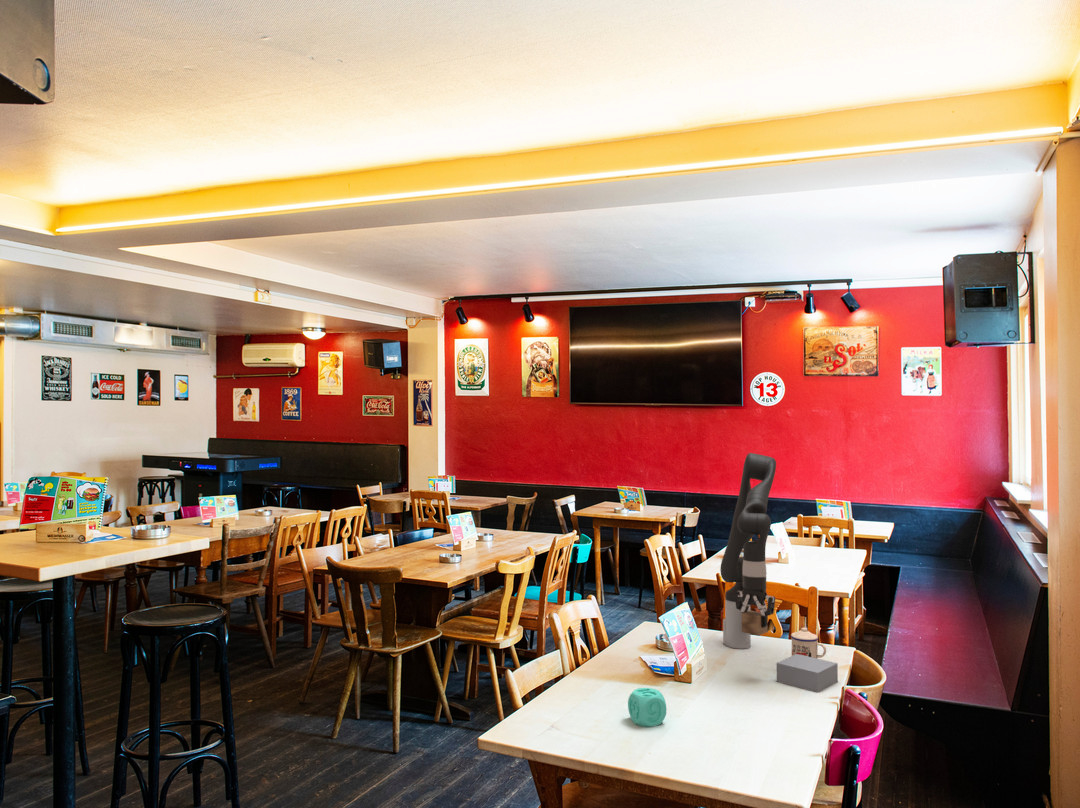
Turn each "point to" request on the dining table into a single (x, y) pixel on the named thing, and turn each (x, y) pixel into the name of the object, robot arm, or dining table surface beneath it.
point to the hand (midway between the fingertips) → (754, 625)
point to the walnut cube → (753, 623)
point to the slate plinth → (807, 672)
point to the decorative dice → (647, 707)
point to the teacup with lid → (806, 644)
